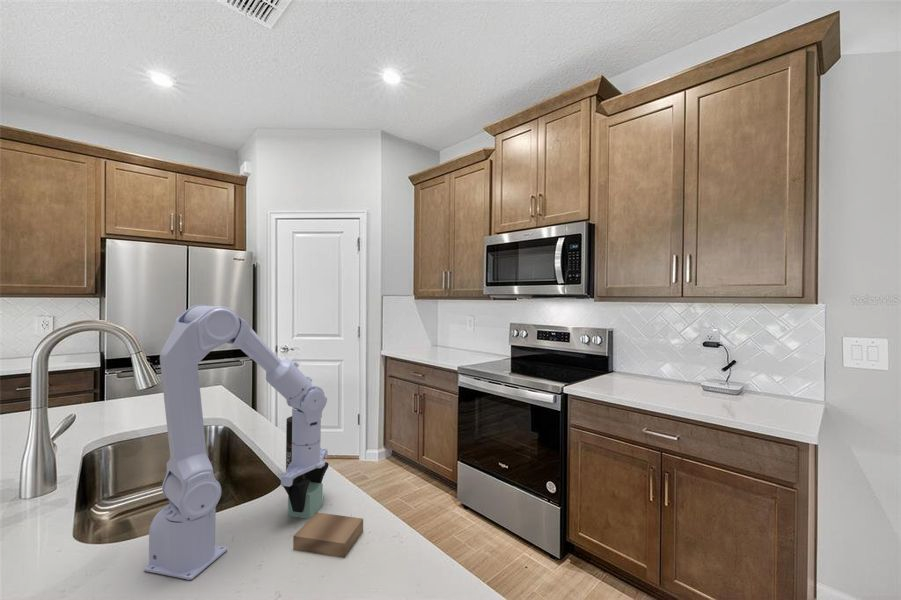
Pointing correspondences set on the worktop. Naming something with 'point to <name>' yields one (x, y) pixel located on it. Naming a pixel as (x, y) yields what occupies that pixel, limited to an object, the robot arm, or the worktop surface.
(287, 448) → the deodorant
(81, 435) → the worktop surface
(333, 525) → the walnut block
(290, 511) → the sage cube
